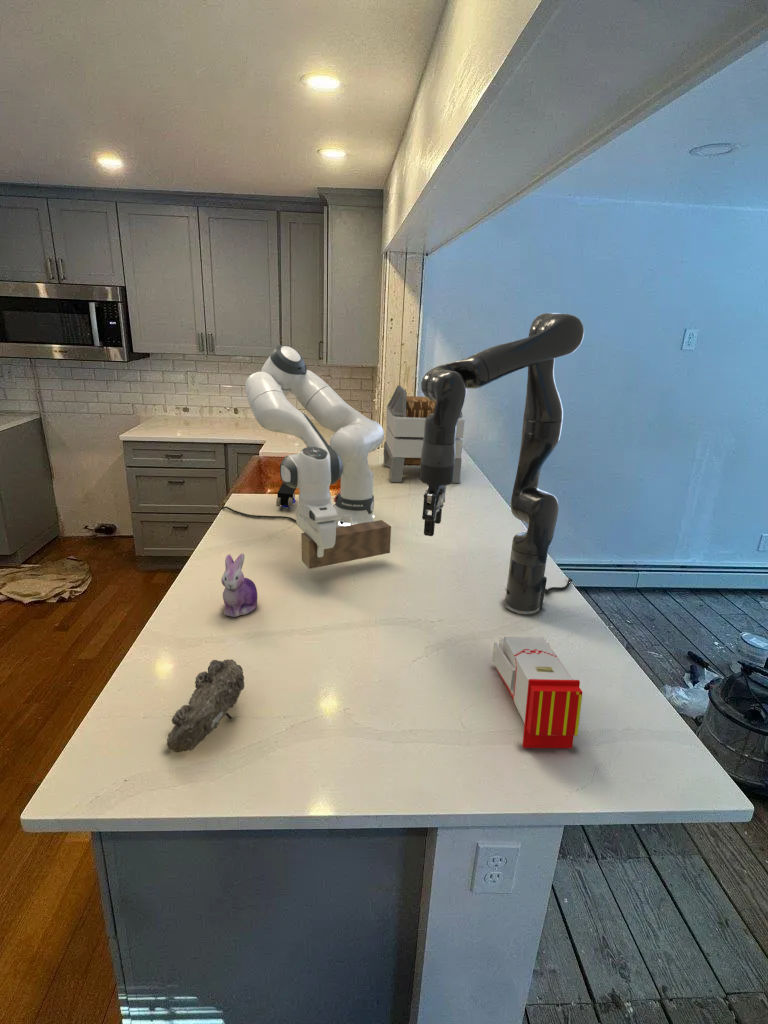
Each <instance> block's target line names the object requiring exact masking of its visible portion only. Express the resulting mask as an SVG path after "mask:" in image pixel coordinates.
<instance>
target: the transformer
mask: <svg viewBox="0 0 768 1024" xmlns="http://www.w3.org/2000/svg"><path fill="white" fill-rule="evenodd" d="M407 394H408V393H407V390H406V389H404V388H403V387H402V385H399V384H398V385H397V386H396V388H395V390H394V392H393V394H392V395H391V398H390V400H389V402H388V404H387V405H386V413H385V414H386V415H385V423H386V428H385V437H384V441H383V466H384V467H388V468H389V475H388V476H389V477H388V478H389V480H390V482H391V483H402V482H403V475H404V469H405V466H406V467H407V466H411V467H412V466H413V467H415V466H416V467H417V466H418V467H420V466H421V452H422V446H423V439H424V425H425V419H426V417H427V416H428V415H429V414H433V413H434V410H435V406H436V401H432V400H430V399H428V398H427V397H426V396H415V395H414V396H413V395H412V396H411V395H407ZM464 429H465V419H464V418H463V411H461V414H460V417H459V419H458V422H457V426H456V439H455V464H454V475H453V482H452V483H451V484H455V483H456V484H459V483H461V472H462V461H463V460H462V453H463V442H464V441H463V440H462V439H463V438H464V431H465V430H464Z"/></svg>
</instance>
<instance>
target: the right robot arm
mask: <svg viewBox="0 0 768 1024" xmlns="http://www.w3.org/2000/svg"><path fill="white" fill-rule="evenodd" d="M584 336H585V328H584V323H583V322H582V320H581V319H580V318H579V317H578V316H576V315H574V314H570V313H564V312H563V313H562V312H561V313H560V312H543V313H540V314H538V315H537V316H536V317H535V318H534V319H533V321H532V322H531V324H530V327H529V331H528V336H527V337H524V338H521V339H517V340H513V341H509V342H504V343H500V344H497V345H494V346H491V347H488V348H485V349H483V350H481V351H478V352H476V353H474V354H472V355H469V356H468V357H466V358H462V359H459V360H455V361H451V362H447V363H444V364H440V365H437V366H435V367H433V368H431V369H430V370H428V371H427V372H426V373H425V374H424V376H423V377H422V379H421V383H420V390H421V393H422V394H423V395H424V397H427V398H428V399H430V400H432V401H436V406H435V410H434V413H433V414H429V415H428V416H427V417H426V419H425V425H424V439H423V446H422V452H421V466H419V467H420V469H419V480H420V482H421V483H422V484H426V485H427V486H428V487H427V489H425V490H424V491H425V492H424V494H423V505H422V516H421V520H423V521H424V524H423V525H424V526H423V535H424V536H426V537H433V536H434V534H435V528H436V527H435V525H436V524H438V525H439V524H441V522H442V513H443V508H444V504H445V502H446V488H447V486H449V485H451V484H453V483H452V482H453V475H454V464H455V439H456V426H457V422H458V419H459V417H460V414H461V412H463V411H462V410H463V408H464V404H465V401H466V397H467V389H471V390H473V389H479V388H482V387H484V386H486V385H489V384H490V383H493V382H495V381H497V380H499V379H502V378H503V377H506V376H508V375H510V374H512V373H515V372H517V371H521V370H522V369H525V368H527V381H526V393H525V404H524V410H523V419H522V429H521V439H520V440H521V441H520V447H519V456H518V463H517V468H516V470H517V471H516V475H515V479H514V483H513V488H512V492H511V498H510V512H511V513H512V516H514V518H516V519H517V520H518V521H521V522H522V523H525V524H528V525H527V530H526V532H519V533H516V534H515V535H514V536H513V538H512V543H511V551H510V556H509V557H510V559H509V566H508V573H507V580H506V581H507V582H506V586H505V587H504V588H505V589H504V590H505V595H504V602H503V605H504V608H506V609H507V610H508V611H510V612H512V613H514V614H517V615H522V616H531V615H535V614H537V613H539V612H540V611H542V610H543V605H544V600H545V595H546V594H548V593H550V592H551V591H564V590H566V589H568V588H569V587H570V584H571V583H572V582H573V579H572V578H571V577H569V578H568V579H567V583H566V585H565V586H561V587H559V586H551V587H549V588H548V589H547V581H548V577H547V576H545V574H546V566H547V559H548V554H549V553H548V552H549V547H550V545H551V543H552V541H553V539H554V534H555V530H556V526H557V521H558V515H559V500H558V498H557V497H556V496H555V495H554V494H553V493H550V492H547V491H545V490H542V489H540V488H539V481H540V475H541V470H542V468H543V465H544V464H545V462H546V461H547V460H548V458H549V457H550V455H552V453H553V452H554V450H555V449H556V447H557V446H558V444H559V442H560V439H561V435H562V427H563V420H564V409H563V404H562V400H561V396H560V393H559V391H558V388H557V384H556V381H555V360H556V359H557V358H561V357H566V356H568V355H571V354H573V353H574V352H576V350H578V348H579V347H581V344H582V343H583V341H584ZM429 512H431V514H429ZM569 582H570V583H569Z"/></svg>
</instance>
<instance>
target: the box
mask: <svg viewBox="0 0 768 1024" xmlns="http://www.w3.org/2000/svg"><path fill="white" fill-rule="evenodd" d="M300 534H301V535H300V536H301V537H300V539H301V541H300V542H301V543H300V544H301V562H302V563H303V564H304V565H305V566H306V567H307V568H308V570H311V569H316V568H321V567H325V566H326V567H327V566H330V565H331V566H332V565H336V564H340V563H346V562H352V561H357V560H361V559H366V558H372V557H377V556H381V555H386V554H391V542H392V541H391V540H392V539H391V538H392V526H391V525H390V524H389V523H387V522H386V521H384V520H383V519H378V520H373V521H372V522H366V523H360V524H354V525H348V526H342V527H336V540H335V545H334V547H333V548H328V549H324V554H323V557H317V556H316V550H317V548H318V547H317V544H316V543H315V542H314V541H313V539H311V538H310V537H309V536H308V535H307V534H306V533H304V532H301V533H300Z"/></svg>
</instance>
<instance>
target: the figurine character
mask: <svg viewBox="0 0 768 1024" xmlns="http://www.w3.org/2000/svg"><path fill="white" fill-rule="evenodd" d="M296 489H297V488H291V487H289V486H287V485H286V484H285V483H284V482H283V483H281V485H280V487H279V489H278V491H277V494H276V495H277V497H276V502H275V503H276V504H275V505H276V507H280V508H279V510H280V511H283V509H287V511H290V509H291V507H293V506H294V504H295V503H296V494H295V492H296Z"/></svg>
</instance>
